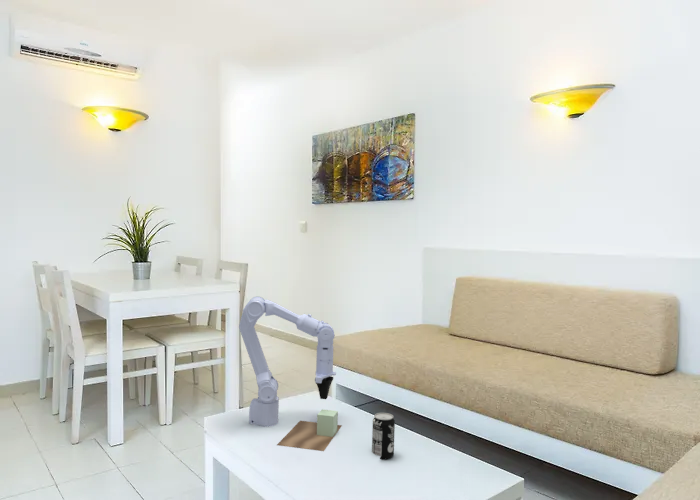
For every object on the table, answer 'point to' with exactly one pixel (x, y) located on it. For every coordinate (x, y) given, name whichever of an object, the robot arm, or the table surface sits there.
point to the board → (306, 437)
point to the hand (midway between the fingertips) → (323, 398)
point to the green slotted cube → (327, 423)
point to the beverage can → (383, 435)
